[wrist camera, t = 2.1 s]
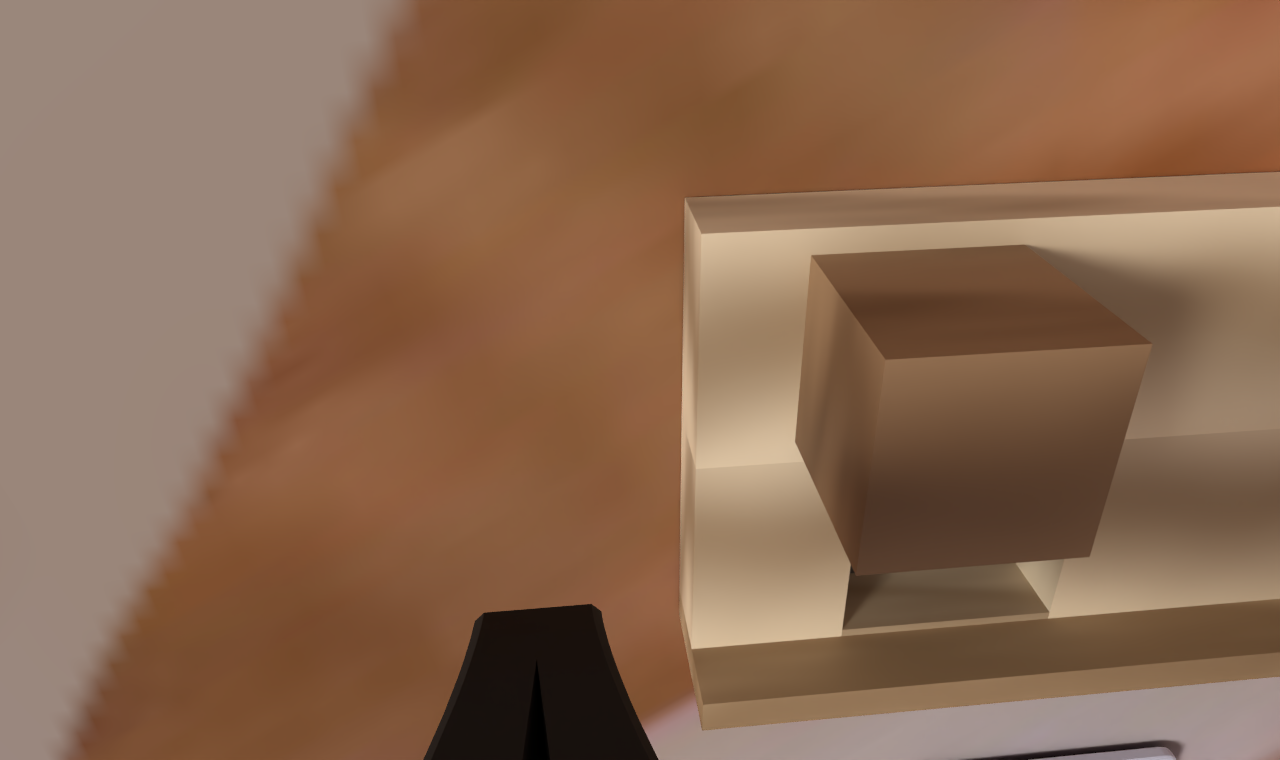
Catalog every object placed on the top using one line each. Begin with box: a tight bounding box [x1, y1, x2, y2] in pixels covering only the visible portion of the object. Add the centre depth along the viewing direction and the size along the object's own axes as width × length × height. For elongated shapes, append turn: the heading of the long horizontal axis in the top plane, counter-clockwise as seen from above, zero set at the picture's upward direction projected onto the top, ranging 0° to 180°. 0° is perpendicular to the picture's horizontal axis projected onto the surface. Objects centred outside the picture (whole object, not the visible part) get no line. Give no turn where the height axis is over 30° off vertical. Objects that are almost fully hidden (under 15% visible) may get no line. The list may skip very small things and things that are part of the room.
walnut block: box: [795, 245, 1153, 576], centre depth 16 cm, size 4×4×4 cm
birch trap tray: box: [679, 172, 1280, 730], centre depth 20 cm, size 11×23×4 cm, turn 91°
